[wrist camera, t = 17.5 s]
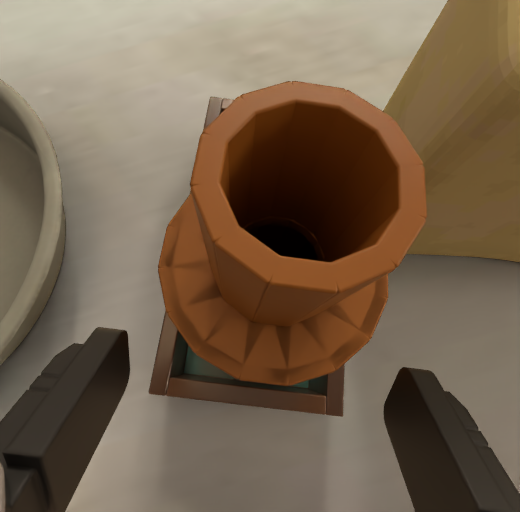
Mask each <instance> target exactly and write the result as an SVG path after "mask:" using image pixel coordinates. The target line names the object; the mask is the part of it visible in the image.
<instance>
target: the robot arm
mask: <svg viewBox="0 0 520 512" xmlns="http://www.w3.org/2000/svg"><path fill="white" fill-rule="evenodd" d="M129 374H130V362H129V346H128V334H127V331H125V330H118V329H110V328H103V327H98V328H96V329H95V330H94V331H93V333H92V334H91V335H90V337H89V338H88V339H87V341H86V342H85V343H84V345H83V344H75V343H74V344H72V345H71V346H69V347H68V348H66V349H65V350H63V351H62V352H60V353H59V354H57V355H56V356H55V357H54V358H53V359H52V360H51V361H50V363H49V364H48V365H47V366H46V367H45V369H44V370H43V371H42V372H41V375H40V376H38V377H37V378H36V380H35V381H34V382H33V383H32V384H31V386H30V388H29V390H26V392H25V393H24V394H23V395H22V396H21V398H20V399H19V400H18V401H17V402H16V404H15V405H14V406H13V407H12V408H11V410H10V411H9V412H8V413H7V414H6V416H5V417H4V418H3V419H2V420H1V422H0V512H65V510H66V508H67V506H68V504H69V502H70V500H71V498H72V496H73V494H74V492H75V490H76V488H77V486H78V484H79V482H80V480H81V478H82V476H83V474H84V472H85V470H86V468H87V466H88V464H89V462H90V460H91V458H92V456H93V454H94V452H95V450H96V448H97V446H98V444H99V442H100V440H101V438H102V436H103V434H104V432H105V430H106V428H107V426H108V424H109V422H110V420H111V418H112V416H113V414H114V412H115V410H116V408H117V406H118V404H119V402H120V400H121V398H122V396H123V394H124V392H125V389H126V387H127V383H128V380H129ZM384 421H385V425H386V428H387V431H388V434H389V437H390V440H391V443H392V446H393V448H394V451H395V454H396V457H397V460H398V463H399V466H400V469H401V472H402V475H403V478H404V480H405V483H406V486H407V489H408V492H409V495H410V498H411V501H412V504H413V507H414V509H415V512H520V494H519V492H518V491H517V489H516V488H515V486H514V484H513V483H512V481H511V480H510V478H509V476H508V475H507V473H506V472H505V470H504V468H503V467H502V465H501V463H500V462H499V460H498V459H497V457H496V455H495V454H494V452H493V451H492V449H491V448H489V447H488V443H487V441H486V439H485V438H484V436H483V434H482V433H481V431H478V426H477V425H476V423H475V422H474V420H473V418H472V417H471V415H470V414H469V412H468V410H467V409H466V408H465V407H464V406H463V405H462V404H461V403H460V402H459V401H458V400H457V399H456V398H455V397H454V396H453V395H452V394H451V393H450V392H447V391H444V390H443V388H442V386H441V385H440V383H439V381H438V380H437V378H436V376H435V375H434V373H433V372H431V371H429V370H423V369H415V368H407V367H403V368H401V369H400V370H399V372H398V374H397V377H396V379H395V381H394V383H393V385H392V388H391V390H390V392H389V394H388V396H387V399H386V401H385V404H384Z"/></svg>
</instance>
